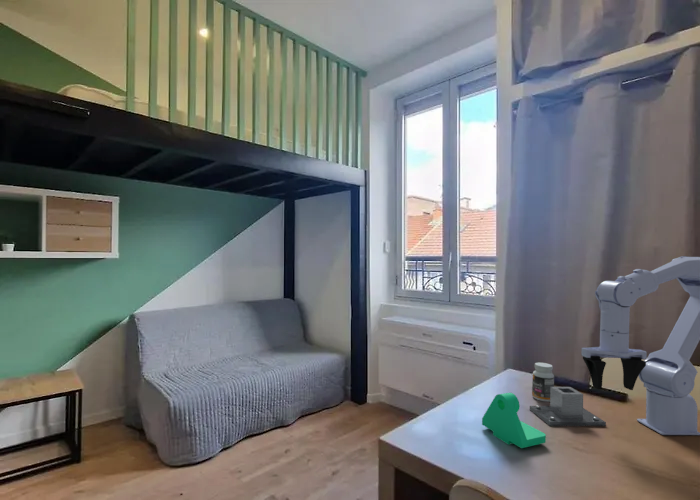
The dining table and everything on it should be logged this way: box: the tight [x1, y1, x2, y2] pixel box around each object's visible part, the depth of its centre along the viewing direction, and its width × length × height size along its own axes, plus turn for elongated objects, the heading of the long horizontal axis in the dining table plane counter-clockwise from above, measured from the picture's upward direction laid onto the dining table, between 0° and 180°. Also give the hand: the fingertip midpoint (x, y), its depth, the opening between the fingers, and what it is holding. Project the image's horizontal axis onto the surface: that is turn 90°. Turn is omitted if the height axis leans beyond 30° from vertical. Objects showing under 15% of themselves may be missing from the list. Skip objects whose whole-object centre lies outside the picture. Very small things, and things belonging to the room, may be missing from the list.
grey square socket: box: [549, 386, 584, 418], centre depth 100 cm, size 5×5×6 cm
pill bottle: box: [531, 362, 555, 403], centre depth 113 cm, size 6×6×10 cm
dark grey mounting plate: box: [529, 404, 607, 427], centre depth 100 cm, size 14×10×6 cm
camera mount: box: [481, 392, 547, 449], centre depth 89 cm, size 12×8×10 cm, turn 22°
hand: (612, 388), depth 92 cm, fingers open, 7 cm apart
